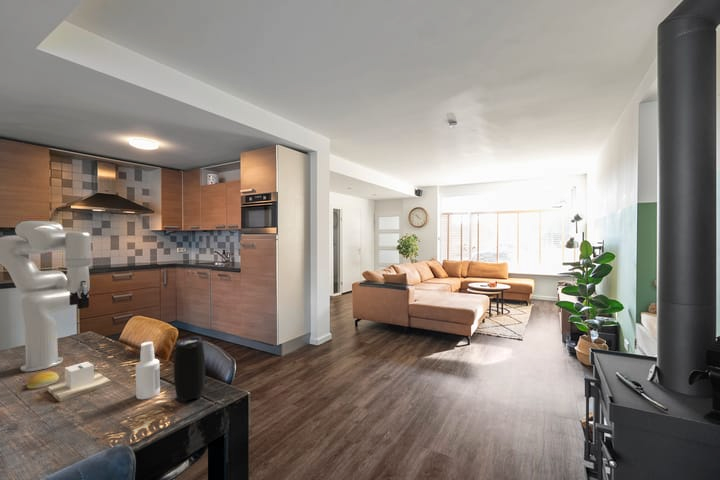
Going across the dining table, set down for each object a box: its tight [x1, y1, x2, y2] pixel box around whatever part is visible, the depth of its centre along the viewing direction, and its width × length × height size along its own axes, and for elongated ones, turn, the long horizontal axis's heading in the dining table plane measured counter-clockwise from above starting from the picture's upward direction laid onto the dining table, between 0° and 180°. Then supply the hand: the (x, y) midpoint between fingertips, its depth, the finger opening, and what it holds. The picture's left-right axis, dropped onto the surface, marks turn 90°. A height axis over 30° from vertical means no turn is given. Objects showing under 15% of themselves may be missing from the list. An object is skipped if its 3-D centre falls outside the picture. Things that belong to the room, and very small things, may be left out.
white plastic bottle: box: [134, 341, 161, 400], centre depth 107 cm, size 7×7×18 cm
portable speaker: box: [173, 335, 206, 404], centre depth 105 cm, size 9×9×20 cm
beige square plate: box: [47, 371, 112, 403], centre depth 112 cm, size 14×14×6 cm
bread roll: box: [26, 370, 60, 390], centre depth 116 cm, size 8×9×4 cm
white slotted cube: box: [64, 361, 95, 390], centre depth 112 cm, size 6×6×6 cm
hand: (79, 306), depth 122 cm, fingers open, 9 cm apart
